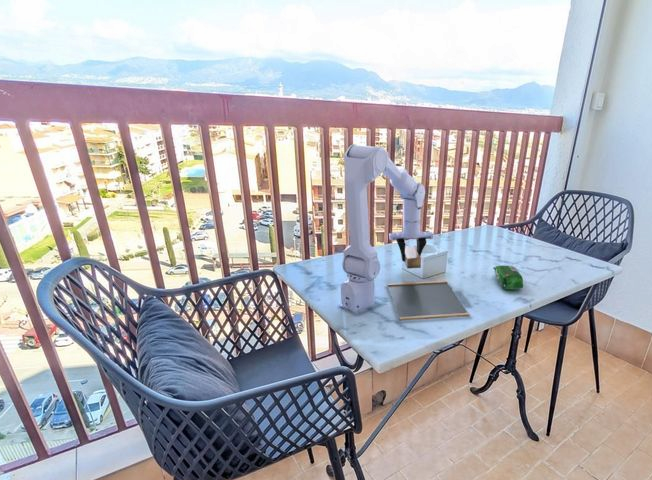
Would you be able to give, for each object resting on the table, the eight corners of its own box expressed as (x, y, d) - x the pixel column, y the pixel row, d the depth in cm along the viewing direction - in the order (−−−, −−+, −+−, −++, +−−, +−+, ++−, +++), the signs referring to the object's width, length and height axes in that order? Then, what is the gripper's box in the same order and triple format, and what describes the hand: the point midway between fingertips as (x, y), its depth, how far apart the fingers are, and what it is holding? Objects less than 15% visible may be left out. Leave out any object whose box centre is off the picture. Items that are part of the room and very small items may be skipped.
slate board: (399, 322, 110) (399, 318, 109) (387, 287, 131) (387, 283, 131) (469, 318, 113) (469, 314, 112) (446, 284, 134) (446, 280, 134)
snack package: (511, 275, 143) (513, 261, 140) (524, 293, 129) (526, 278, 126) (491, 275, 142) (493, 261, 140) (502, 293, 129) (504, 278, 126)
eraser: (407, 268, 130) (407, 258, 128) (401, 256, 140) (401, 246, 139) (420, 267, 131) (421, 257, 129) (413, 255, 141) (414, 246, 140)
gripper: (430, 216, 134) (428, 255, 140) (387, 217, 131) (388, 256, 138) (435, 222, 127) (433, 262, 134) (390, 223, 125) (390, 264, 131)
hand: (410, 260), depth 135 cm, fingers closed on eraser, 4 cm apart
